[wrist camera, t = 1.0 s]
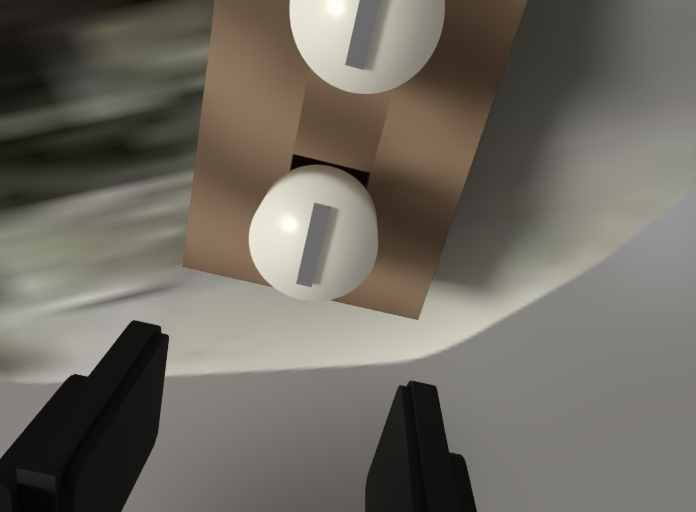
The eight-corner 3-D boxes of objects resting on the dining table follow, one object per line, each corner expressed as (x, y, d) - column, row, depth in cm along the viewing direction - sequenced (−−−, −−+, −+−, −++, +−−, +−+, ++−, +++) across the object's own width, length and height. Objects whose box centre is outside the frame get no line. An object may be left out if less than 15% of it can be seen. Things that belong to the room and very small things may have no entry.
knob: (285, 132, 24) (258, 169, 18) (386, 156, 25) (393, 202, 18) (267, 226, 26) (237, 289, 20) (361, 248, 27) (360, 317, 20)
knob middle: (323, -65, 21) (305, -100, 15) (438, -33, 21) (467, -55, 15) (299, 60, 23) (275, 74, 17) (405, 87, 23) (419, 111, 17)
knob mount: (297, -392, 20) (277, -513, 15) (595, -298, 21) (660, -387, 16) (210, 229, 30) (182, 266, 26) (410, 276, 31) (417, 320, 27)
